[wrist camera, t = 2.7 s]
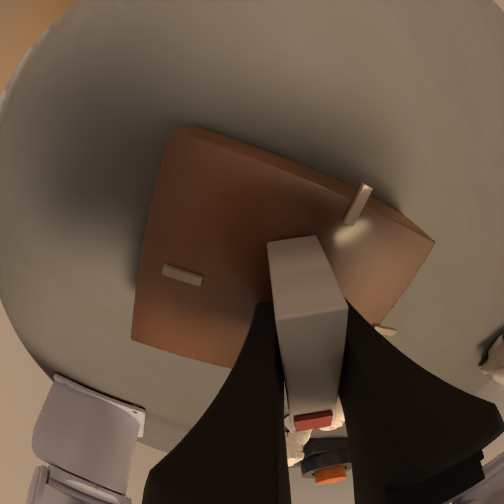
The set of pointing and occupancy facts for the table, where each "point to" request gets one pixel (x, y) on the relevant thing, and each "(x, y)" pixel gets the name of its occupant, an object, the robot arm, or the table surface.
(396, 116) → the table surface
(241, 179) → the panel
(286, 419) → the game pieces
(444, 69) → the table surface
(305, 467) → the button housing
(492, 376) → the figurine
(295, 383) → the beige rectangular block
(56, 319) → the table surface
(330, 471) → the button
